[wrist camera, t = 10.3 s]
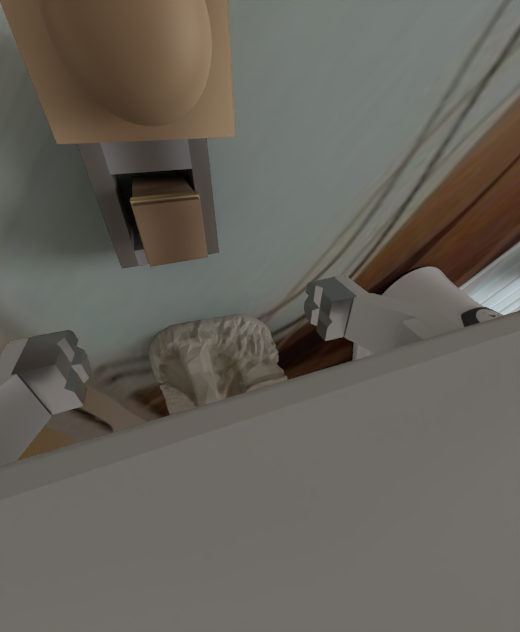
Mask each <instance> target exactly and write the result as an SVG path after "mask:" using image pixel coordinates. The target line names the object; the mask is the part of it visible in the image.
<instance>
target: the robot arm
mask: <svg viewBox="0 0 520 632" xmlns="http://www.w3.org/2000/svg"><path fill="white" fill-rule="evenodd" d="M306 293H307V294H308V298H307V299H306V300H305V304H304V310H305V315H306V317H307V319H308V321H309V322H310V323H311V324H313V325H315V326H317V329H316V331H317V332H318V333H319V334H320V336H321V337H322V338H323V339H324V341H328V340H332V339H336V338H341V337H344V338H346V339H348V340H350V341H352V342H354V345H353V360H352V361H350V362H347V363H343V364H340V365H337V366H333V367H330V368H326V369H323V370H320V371H316V372H313V373H310V374H306V375H303V376H299V377H296V378H293V379H289V380H286V381H283V382H279V383H276V384H272V385H269V386H266V387H262V388H259V389H256V390H252V391H249V392H246V393H242V394H239V395H236V396H232V397H229V398H226V399H222V400H219V401H216V402H212V403H209V404H206V405H202V406H199V407H196V408H192V409H189V410H186V411H182V412H179V413H176V414H172V415H169V416H166V417H162V418H159V419H156V420H152V421H149V422H146V423H143V424H139V425H135V426H132V427H129V428H125V429H122V430H119V431H115V432H112V433H109V434H105V435H102V436H99V437H95V438H92V439H89V440H85V441H82V442H79V443H75V444H72V445H69V446H65V447H62V448H59V449H55V450H52V451H48V452H45V453H42V454H39V455H35V456H32V457H28V458H25V459H22V460H19V461H16V460H17V459H18V458H19V457H20V456H21V454H22V453H23V452H24V450H25V449H26V448H27V447H28V446H29V444H30V443H31V442H32V441H33V439H34V438H35V437H36V436H37V434H38V433H39V432H40V431H41V430H42V428H43V427H44V426H45V425H46V423H47V422H48V421H49V420H50V419H51V417H52V416H51V415H54V414H58V413H61V412H65V411H68V410H71V409H75V408H78V407H82V406H84V401H85V396H86V391H87V388H86V386H85V385H84V383H85V382H86V381H87V380H88V379H89V376H90V363H89V360H88V357H87V354H86V353H85V351H84V350H83V349H81V348H79V347H77V343H78V339H77V337H76V335H75V334H74V332H73V331H71V330H65V331H60V332H54V333H49V334H43V335H38V336H33V337H27V338H22V339H17V340H13V341H11V342H8V344H7V346H6V347H5V349H4V351H3V352H2V354H1V356H0V632H520V311H517V312H514V313H510V314H507V315H502V314H500V313H498V312H496V311H494V310H491V309H489V308H487V307H483V306H482V305H480V304H479V303H477V302H476V301H474V300H473V299H472V298H470V297H469V296H468V295H466V294H465V293H464V292H462V291H461V290H460V289H459V288H458V287H456V286H455V285H454V284H453V283H452V282H451V281H450V280H449V279H448V278H447V277H446V276H445V275H444V274H443V273H442V272H441V270H439V269H438V268H435V267H423V268H419V269H416V270H414V271H412V272H410V273H408V274H406V275H404V276H403V277H401V278H400V279H399V280H397V281H396V282H395V283H393V284H392V285H391V286H390V287H389V288H388V289H387V290H386V291H385V292H384V293H383V294H382V295H378V294H374V293H371V294H369V293H368V292H366V291H365V290H364V289H362V288H361V287H360V286H359V285H357V284H356V283H355V282H354V281H352V280H351V279H350V278H348V277H347V276H346V275H339V276H334V277H331V278H327V279H322V280H317V281H313V282H308V284H307V286H306Z"/></svg>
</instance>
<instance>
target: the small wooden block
mask: <svg viewBox="0 0 520 632" xmlns="http://www.w3.org/2000/svg"><path fill="white" fill-rule="evenodd" d="M132 196H133V197H131V198H130V202H131V206H132V209H133V213H134V216H135V220H136V223H137V227H138V230H139V234H140V237H141V241H142V244H143V247H144V251H145V254H146V258H147V261H148V264H150V267H151V266H157V265H163V264H169V263H175V262H181V261H187V260H193V259H199V258H205V257H208V256H207V248H206V241H205V233H204V226H203V219H202V211H201V204H200V197H199V194H198V192H197V191H193V190H192V188H191V187H190V186H189V184H188V183H187V182H186V180H185V179H184V178H183V176H182V175H181V174H180V173H173V174H159V175H146V176H133V177H132Z"/></svg>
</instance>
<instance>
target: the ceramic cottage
mask: <svg viewBox="0 0 520 632" xmlns="http://www.w3.org/2000/svg"><path fill="white" fill-rule="evenodd" d="M150 345H151V346H150V347H149V348H148V351H149V361H150V363H151V367H152V370H153V374H154V377H155V378H156V380H157V381H158V382H160V383H162V384H161V385H160V389H161V390H162V393H163V395H164V397H165V400H166V405H167V408H168V411H169V413H170V414H171V415H172V414H176V413H179V412H182V411H186V410H189V409H192V408H196V407H199V406H202V405H206V404H209V403H212V402H216V401H219V400H222V399H226V398H229V397H232V396H236V395H239V394H242V393H246V392H249V391H252V390H256V389H259V388H262V387H266V386H269V385H272V384H276V383H279V382H283V381H286V380H288V379H287V376H286V375H285V374H284V371H283V369H281V368H280V367H279V366H278V365H277V362H278V361H279V360H278V358H279V356H278V350H277V349H276V348H275V347H276V345H275V343H274V342H273V339H272V336H271V333H270V330H269V328H268V327H267V325H266V324H265V323H263V322H261V321H260V320H258V319H256V318H253V317H250V316H247V315H241V314H240V315H236V314H235V315H230V316H224V317H220V318H214V319H203V320H199V321H194V322H187V323H182V324H175V325H172V326H170V327H168V328H166V329H165V330H163V331H161V332H160V333H158V334H157V336H156V337H155V338H154V340H153V341H152V342H151V344H150Z"/></svg>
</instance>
